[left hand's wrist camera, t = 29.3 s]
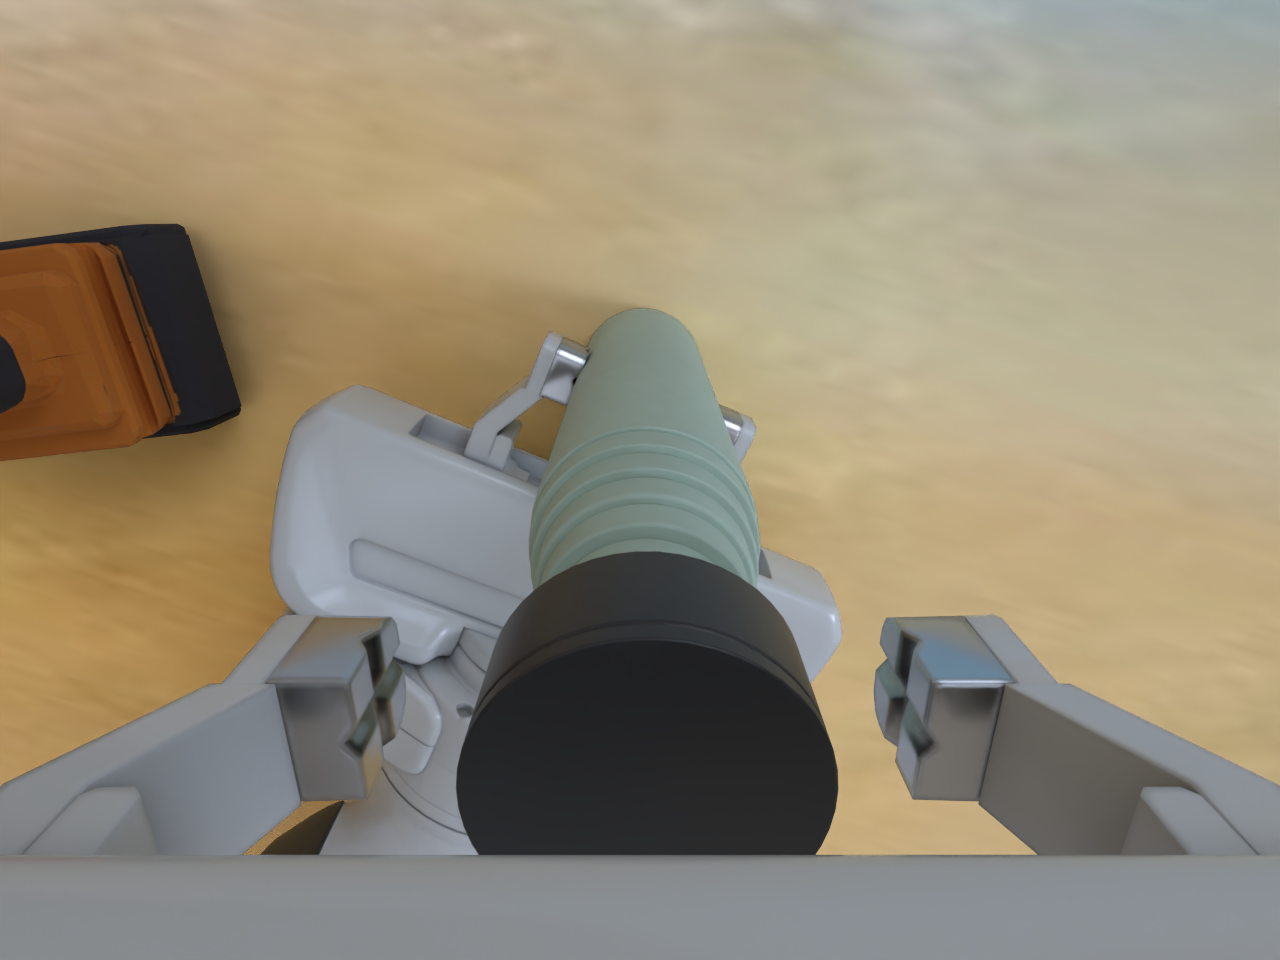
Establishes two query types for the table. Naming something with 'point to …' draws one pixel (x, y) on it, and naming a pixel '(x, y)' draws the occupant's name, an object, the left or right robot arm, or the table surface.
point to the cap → (646, 720)
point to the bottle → (643, 459)
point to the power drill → (106, 342)
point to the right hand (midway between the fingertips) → (652, 378)
